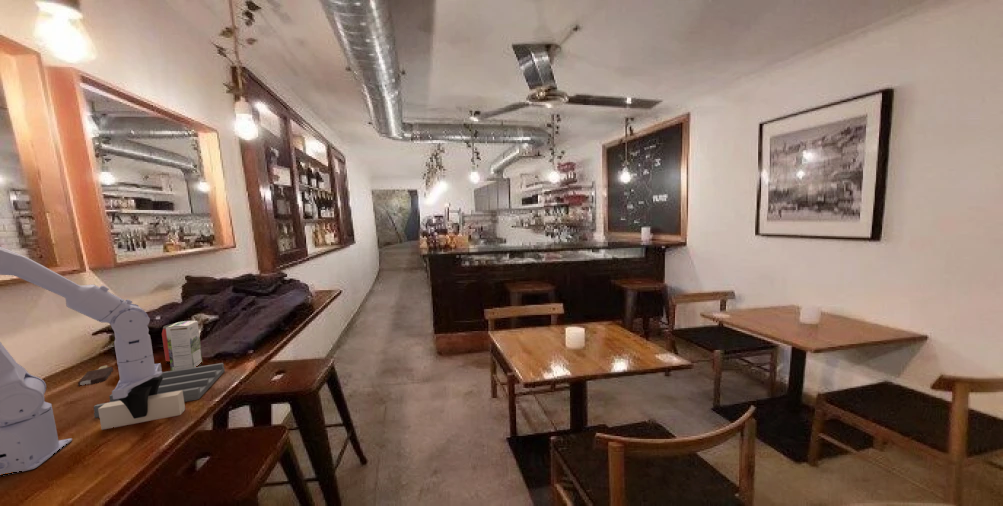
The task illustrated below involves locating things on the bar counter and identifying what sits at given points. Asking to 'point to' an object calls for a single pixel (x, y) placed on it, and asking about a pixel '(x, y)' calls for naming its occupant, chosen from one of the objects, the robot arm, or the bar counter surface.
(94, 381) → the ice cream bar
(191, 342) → the syrup box
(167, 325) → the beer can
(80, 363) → the bar counter surface
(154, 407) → the clay strip
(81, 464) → the bar counter surface
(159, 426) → the bar counter surface
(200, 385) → the drying rack
